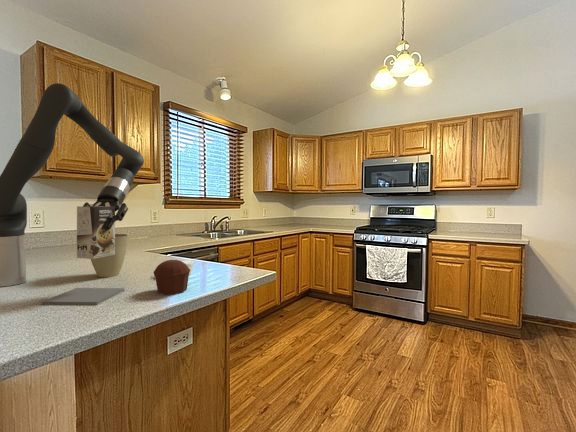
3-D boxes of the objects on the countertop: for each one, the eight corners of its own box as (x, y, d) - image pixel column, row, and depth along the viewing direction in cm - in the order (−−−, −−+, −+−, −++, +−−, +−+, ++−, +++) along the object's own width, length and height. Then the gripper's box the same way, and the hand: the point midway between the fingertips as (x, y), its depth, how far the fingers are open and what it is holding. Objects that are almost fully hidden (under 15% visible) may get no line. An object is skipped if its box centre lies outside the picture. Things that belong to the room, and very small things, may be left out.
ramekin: (184, 270, 130) (183, 258, 130) (199, 274, 123) (199, 261, 123) (158, 275, 122) (158, 262, 122) (173, 280, 115) (173, 266, 115)
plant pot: (76, 278, 117) (75, 236, 117) (110, 270, 132) (109, 233, 131) (106, 281, 113) (105, 238, 112) (138, 272, 127) (137, 234, 126)
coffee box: (94, 259, 93) (93, 206, 92) (76, 258, 94) (75, 205, 93) (116, 254, 102) (115, 206, 101) (99, 253, 103) (99, 205, 102)
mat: (41, 304, 87) (41, 301, 87) (76, 290, 101) (76, 288, 101) (97, 304, 87) (97, 301, 87) (124, 290, 101) (124, 288, 101)
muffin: (147, 291, 100) (146, 260, 100) (178, 284, 109) (178, 256, 108) (165, 298, 92) (164, 265, 92) (197, 290, 101) (197, 260, 100)
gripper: (88, 184, 105) (64, 220, 93) (130, 185, 104) (111, 221, 93) (98, 200, 110) (76, 235, 99) (138, 200, 110) (120, 236, 99)
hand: (93, 228), depth 96 cm, fingers closed on coffee box, 7 cm apart
